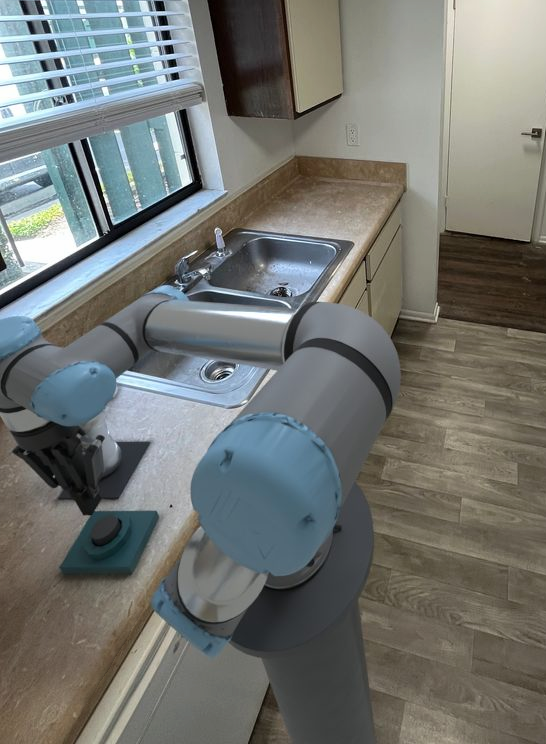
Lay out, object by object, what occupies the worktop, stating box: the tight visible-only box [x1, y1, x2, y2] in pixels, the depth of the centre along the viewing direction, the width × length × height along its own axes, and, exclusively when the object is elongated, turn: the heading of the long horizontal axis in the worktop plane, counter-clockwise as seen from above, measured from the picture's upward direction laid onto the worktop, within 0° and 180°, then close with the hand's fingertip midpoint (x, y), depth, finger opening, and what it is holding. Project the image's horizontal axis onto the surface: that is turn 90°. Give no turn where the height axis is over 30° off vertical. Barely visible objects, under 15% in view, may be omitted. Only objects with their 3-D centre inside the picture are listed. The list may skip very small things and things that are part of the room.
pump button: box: [91, 514, 121, 546], centre depth 77 cm, size 4×4×2 cm
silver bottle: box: [79, 410, 122, 478], centre depth 87 cm, size 6×7×20 cm
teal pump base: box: [58, 510, 160, 575], centre depth 78 cm, size 12×9×4 cm
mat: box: [57, 441, 151, 500], centre depth 92 cm, size 12×12×1 cm
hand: (92, 506), depth 74 cm, fingers closed
